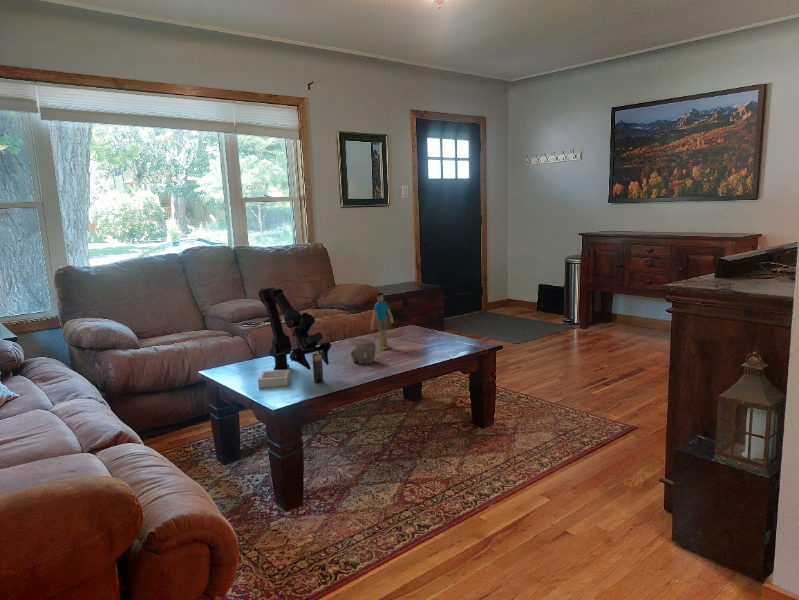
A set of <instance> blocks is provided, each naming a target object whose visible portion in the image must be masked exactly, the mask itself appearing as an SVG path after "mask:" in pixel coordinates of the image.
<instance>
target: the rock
mask: <svg viewBox="0 0 799 600" xmlns="http://www.w3.org/2000/svg"><path fill="white" fill-rule="evenodd" d="M376 351H377V346H376V344H375V342H374V341H367V342H366V341H365V342H361V343H359V344H357V345H356V346H355V347H354V349H353V350H352V351H351V353H350V355H351V358H352V362H353V363H358V364H360V365H361V364H365V365H367V364H369V363H370V364H372V363H373V362H374V359H375V358H376Z"/></svg>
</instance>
